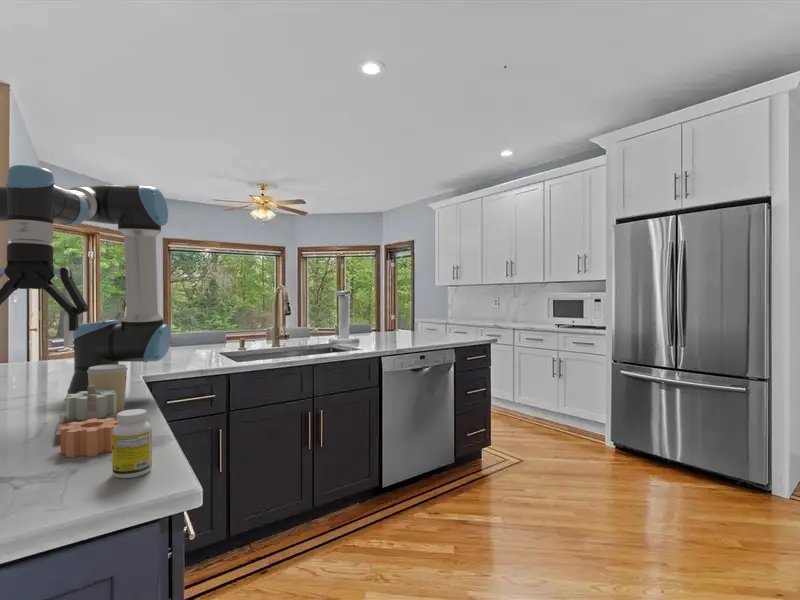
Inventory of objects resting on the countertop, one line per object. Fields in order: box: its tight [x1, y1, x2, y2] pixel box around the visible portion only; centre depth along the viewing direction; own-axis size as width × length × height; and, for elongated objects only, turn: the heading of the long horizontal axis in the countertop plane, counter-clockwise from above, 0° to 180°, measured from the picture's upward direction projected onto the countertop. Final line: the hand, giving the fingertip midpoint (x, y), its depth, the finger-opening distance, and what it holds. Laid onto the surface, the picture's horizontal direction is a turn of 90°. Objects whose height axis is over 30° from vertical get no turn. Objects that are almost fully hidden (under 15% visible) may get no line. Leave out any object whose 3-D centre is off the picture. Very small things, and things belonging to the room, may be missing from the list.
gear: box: [65, 390, 117, 420], centre depth 118 cm, size 11×11×5 cm
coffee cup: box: [87, 364, 128, 411], centre depth 130 cm, size 9×9×12 cm
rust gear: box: [60, 418, 119, 458], centre depth 99 cm, size 11×11×5 cm
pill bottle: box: [111, 408, 153, 479], centre depth 86 cm, size 6×6×11 cm
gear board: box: [55, 385, 123, 445], centre depth 113 cm, size 20×13×9 cm, turn 33°
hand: (30, 347), depth 97 cm, fingers open, 13 cm apart
